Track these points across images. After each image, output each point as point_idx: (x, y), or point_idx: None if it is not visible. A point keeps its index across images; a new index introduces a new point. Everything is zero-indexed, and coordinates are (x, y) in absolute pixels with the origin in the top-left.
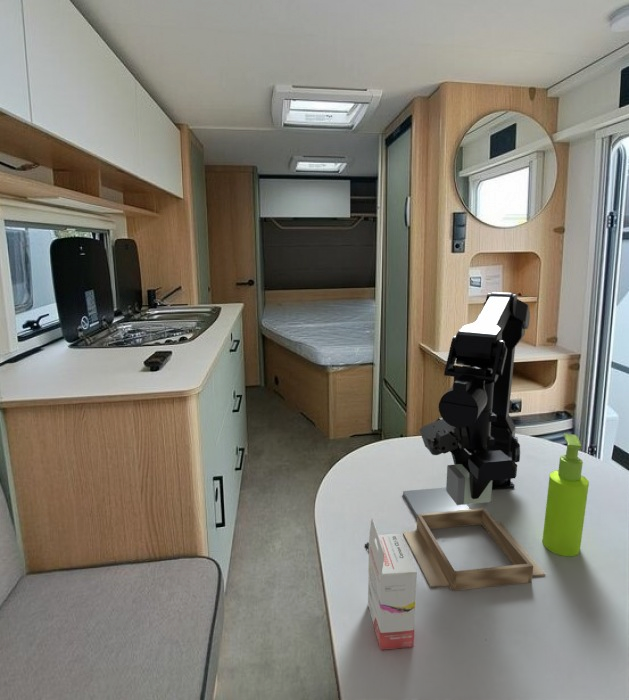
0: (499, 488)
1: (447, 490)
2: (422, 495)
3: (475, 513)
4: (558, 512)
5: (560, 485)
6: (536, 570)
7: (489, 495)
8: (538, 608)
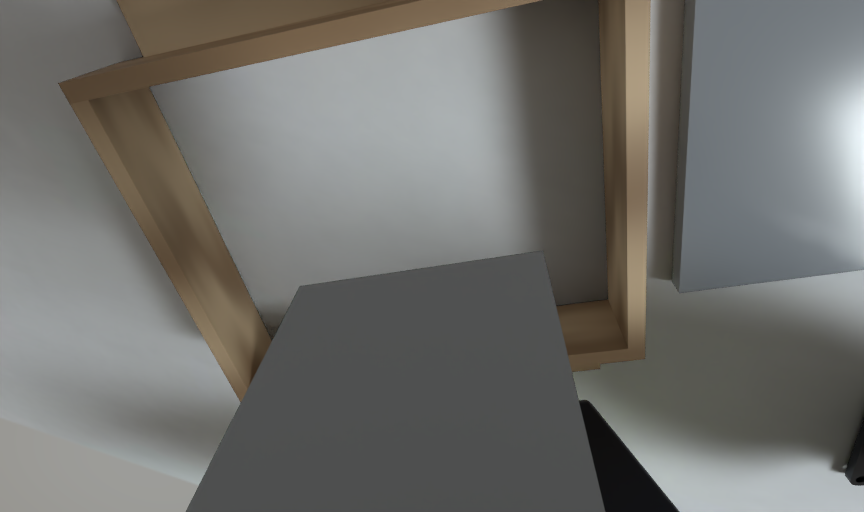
0: (859, 432)
1: (513, 268)
2: None
3: (623, 309)
4: None
5: None
6: None
7: None
8: (147, 332)
